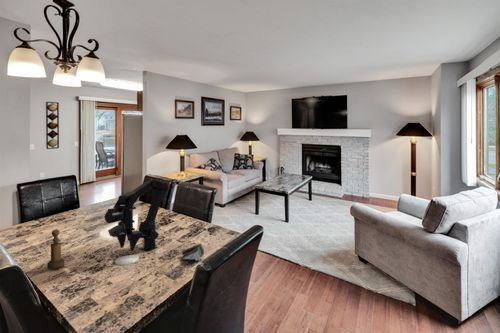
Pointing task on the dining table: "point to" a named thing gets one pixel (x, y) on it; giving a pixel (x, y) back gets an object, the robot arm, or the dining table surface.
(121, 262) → the white round plate
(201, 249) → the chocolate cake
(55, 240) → the wooden chess pawn
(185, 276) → the dining table surface
